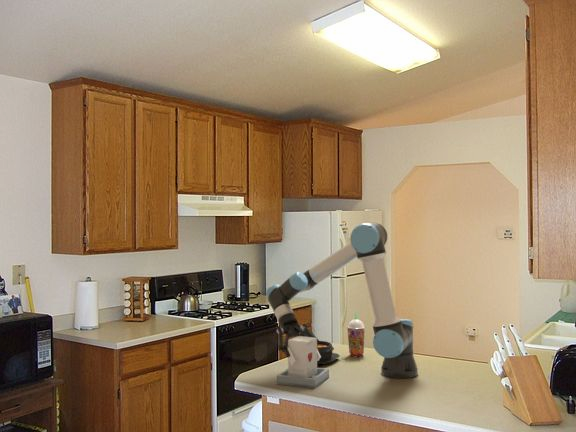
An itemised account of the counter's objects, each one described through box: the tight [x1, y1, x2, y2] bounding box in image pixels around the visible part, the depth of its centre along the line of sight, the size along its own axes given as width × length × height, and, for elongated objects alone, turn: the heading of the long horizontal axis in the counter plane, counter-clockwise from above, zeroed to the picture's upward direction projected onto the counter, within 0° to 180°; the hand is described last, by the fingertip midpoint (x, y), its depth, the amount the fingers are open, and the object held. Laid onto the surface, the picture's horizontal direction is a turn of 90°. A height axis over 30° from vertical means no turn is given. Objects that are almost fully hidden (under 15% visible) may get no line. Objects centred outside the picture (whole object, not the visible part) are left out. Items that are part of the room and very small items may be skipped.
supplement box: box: [287, 336, 318, 378], centre depth 241 cm, size 9×9×15 cm
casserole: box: [317, 340, 341, 366], centre depth 271 cm, size 25×19×8 cm
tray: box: [276, 367, 330, 389], centre depth 241 cm, size 16×16×4 cm
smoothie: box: [346, 313, 366, 358], centre depth 282 cm, size 8×8×20 cm
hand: (306, 361), depth 239 cm, fingers closed on supplement box, 11 cm apart
